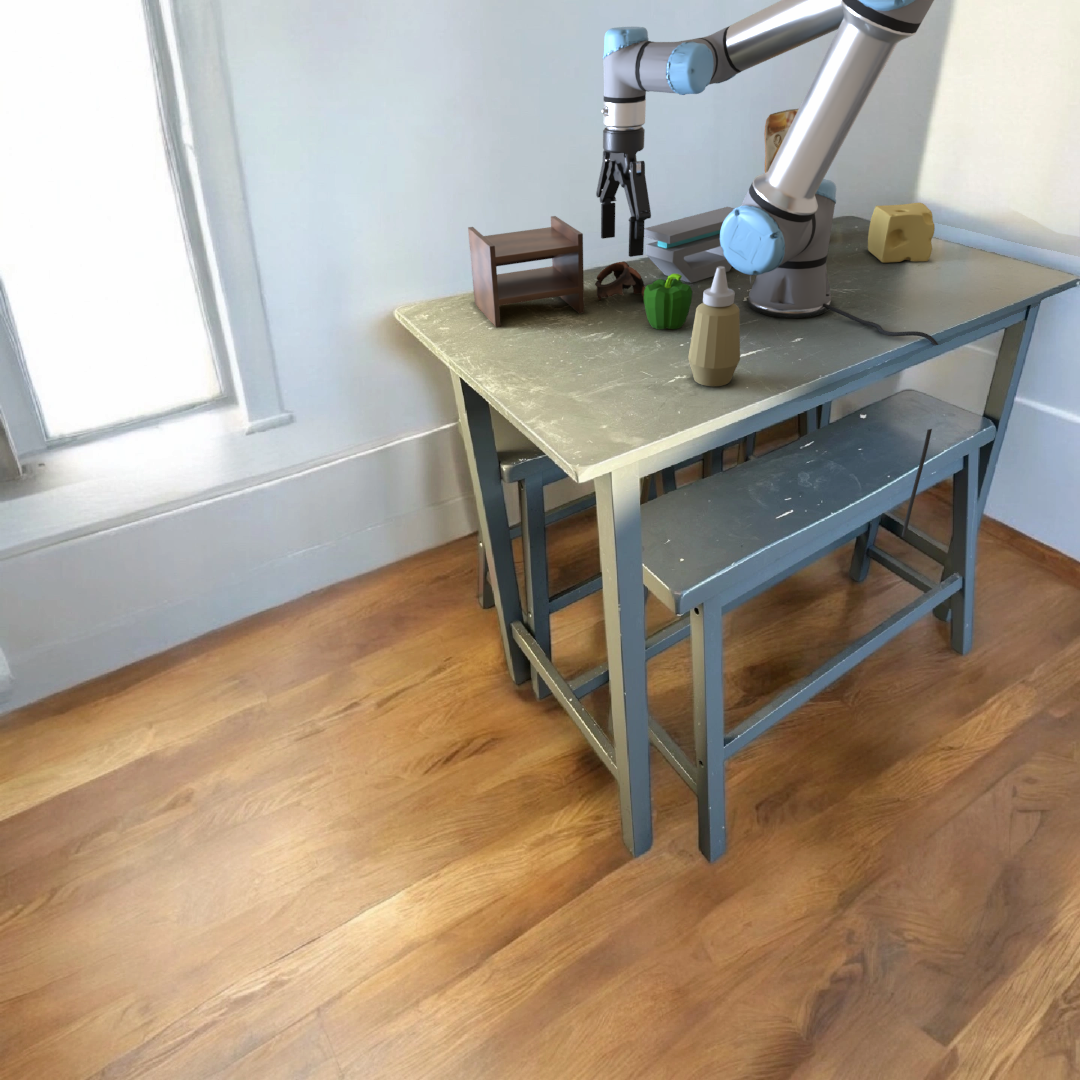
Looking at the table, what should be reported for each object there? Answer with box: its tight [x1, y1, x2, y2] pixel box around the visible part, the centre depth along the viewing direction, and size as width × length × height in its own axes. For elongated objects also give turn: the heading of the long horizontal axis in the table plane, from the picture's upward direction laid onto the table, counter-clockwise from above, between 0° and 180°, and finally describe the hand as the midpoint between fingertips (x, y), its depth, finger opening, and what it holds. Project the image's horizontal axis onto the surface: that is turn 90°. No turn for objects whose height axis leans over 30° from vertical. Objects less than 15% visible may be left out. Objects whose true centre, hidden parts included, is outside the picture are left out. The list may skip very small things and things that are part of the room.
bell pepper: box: [643, 273, 693, 330], centre depth 155 cm, size 8×8×10 cm
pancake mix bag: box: [763, 108, 799, 173], centre depth 192 cm, size 7×19×28 cm, turn 126°
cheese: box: [867, 202, 936, 264], centre depth 184 cm, size 10×11×10 cm
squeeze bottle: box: [687, 266, 741, 387], centre depth 132 cm, size 8×8×18 cm
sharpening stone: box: [644, 206, 736, 284], centre depth 180 cm, size 25×8×11 cm, turn 127°
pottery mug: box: [594, 261, 646, 301], centre depth 170 cm, size 12×10×8 cm
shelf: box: [467, 215, 585, 328], centre depth 165 cm, size 15×18×15 cm
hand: (621, 246), depth 166 cm, fingers open, 13 cm apart
